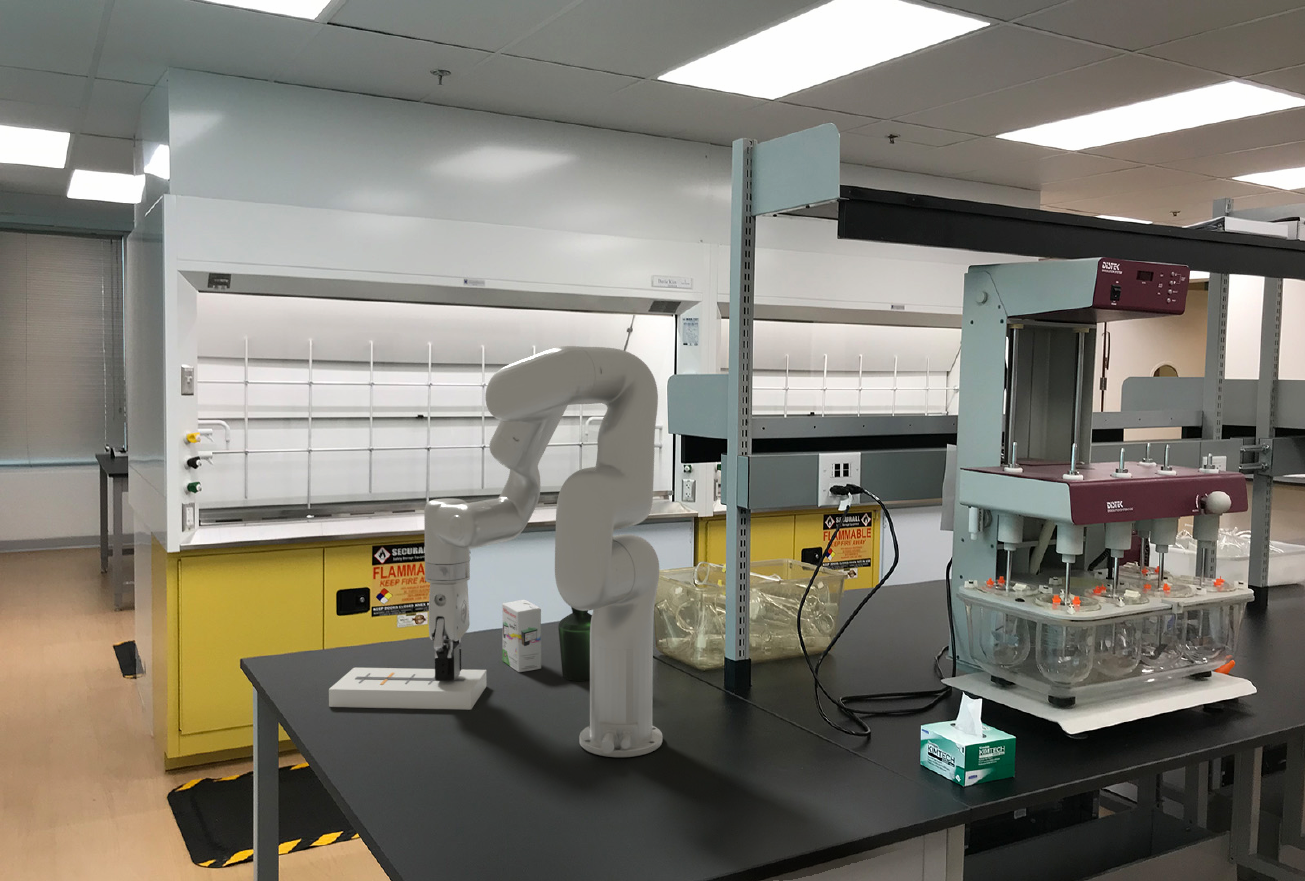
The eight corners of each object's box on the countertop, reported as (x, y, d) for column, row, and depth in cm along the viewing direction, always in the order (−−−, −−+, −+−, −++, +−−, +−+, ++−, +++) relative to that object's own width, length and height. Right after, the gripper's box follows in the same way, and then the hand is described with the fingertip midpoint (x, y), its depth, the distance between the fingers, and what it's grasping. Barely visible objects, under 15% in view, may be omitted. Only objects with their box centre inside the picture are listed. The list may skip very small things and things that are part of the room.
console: (471, 709, 159) (470, 691, 158) (329, 706, 160) (328, 688, 159) (486, 686, 171) (486, 669, 170) (354, 683, 172) (354, 667, 171)
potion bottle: (600, 683, 173) (600, 585, 172) (555, 682, 173) (555, 584, 172) (603, 669, 181) (603, 575, 180) (560, 668, 181) (560, 575, 180)
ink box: (501, 661, 186) (501, 601, 185) (524, 657, 188) (524, 598, 188) (518, 673, 178) (517, 611, 178) (542, 669, 181) (542, 608, 180)
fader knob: (454, 681, 163) (453, 649, 162) (436, 681, 163) (436, 648, 162) (459, 674, 167) (459, 642, 166) (442, 673, 167) (442, 642, 166)
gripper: (457, 581, 155) (458, 692, 156) (480, 562, 172) (480, 661, 173) (411, 581, 155) (412, 691, 156) (438, 561, 172) (439, 661, 173)
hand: (448, 674), depth 165 cm, fingers closed on fader knob, 4 cm apart
